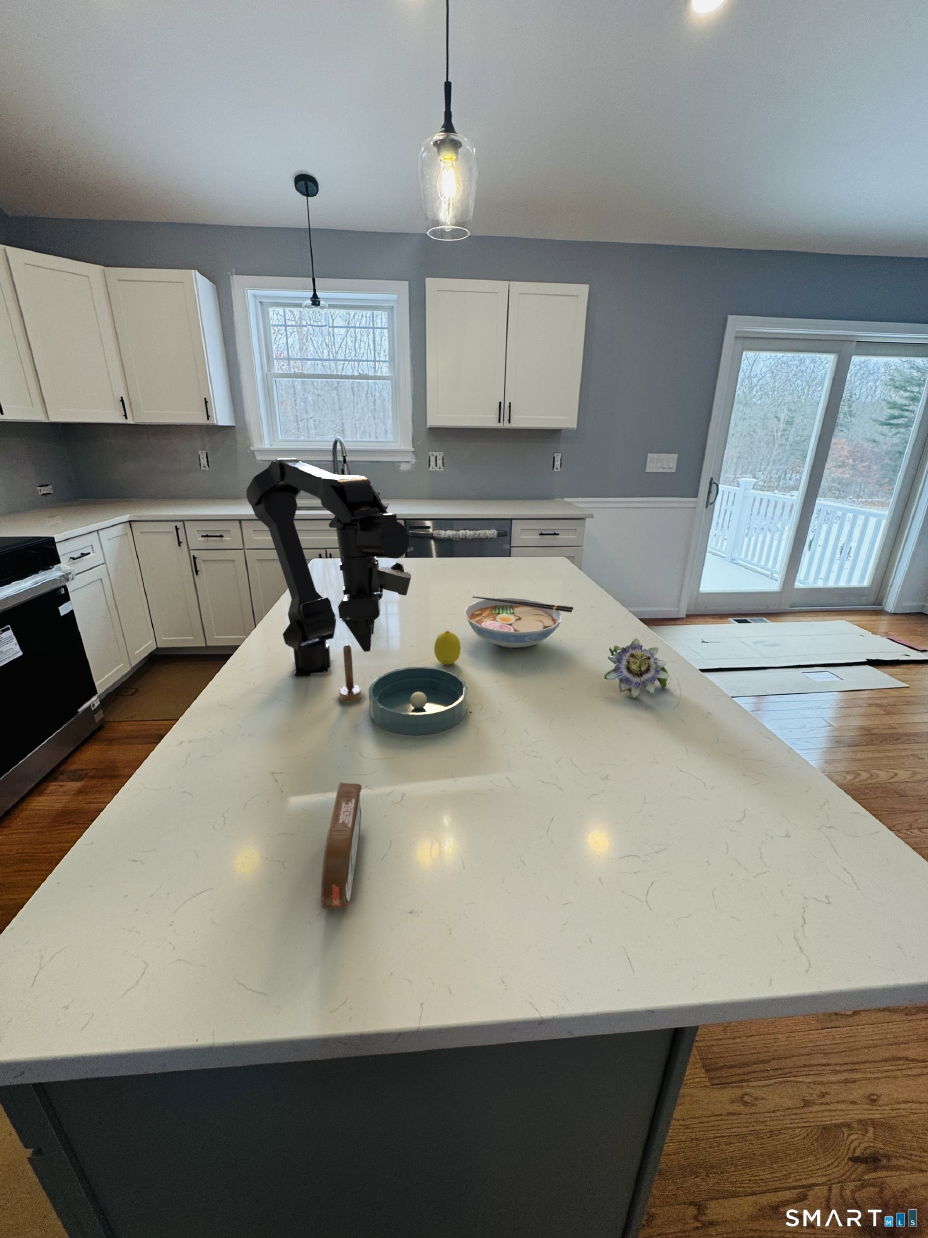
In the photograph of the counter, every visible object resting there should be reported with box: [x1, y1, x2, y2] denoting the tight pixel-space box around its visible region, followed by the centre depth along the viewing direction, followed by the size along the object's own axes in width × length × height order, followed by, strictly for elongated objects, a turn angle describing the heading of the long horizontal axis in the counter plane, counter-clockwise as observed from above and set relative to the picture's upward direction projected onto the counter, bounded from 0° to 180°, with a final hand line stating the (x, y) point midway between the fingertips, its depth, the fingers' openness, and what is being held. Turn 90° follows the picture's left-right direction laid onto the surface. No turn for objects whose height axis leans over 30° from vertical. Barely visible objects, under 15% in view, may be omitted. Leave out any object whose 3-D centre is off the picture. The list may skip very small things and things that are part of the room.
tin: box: [320, 781, 362, 911], centre depth 57 cm, size 15×3×8 cm, turn 5°
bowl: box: [368, 666, 468, 736], centre depth 90 cm, size 17×17×4 cm
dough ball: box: [410, 692, 427, 709], centre depth 90 cm, size 3×3×3 cm
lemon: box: [433, 630, 461, 666], centre depth 107 cm, size 6×6×8 cm
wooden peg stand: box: [338, 644, 363, 703], centre depth 92 cm, size 4×4×11 cm
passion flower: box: [603, 637, 670, 699], centre depth 100 cm, size 11×11×12 cm
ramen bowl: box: [463, 595, 574, 649], centre depth 119 cm, size 25×23×8 cm
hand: (368, 642), depth 89 cm, fingers open, 9 cm apart
